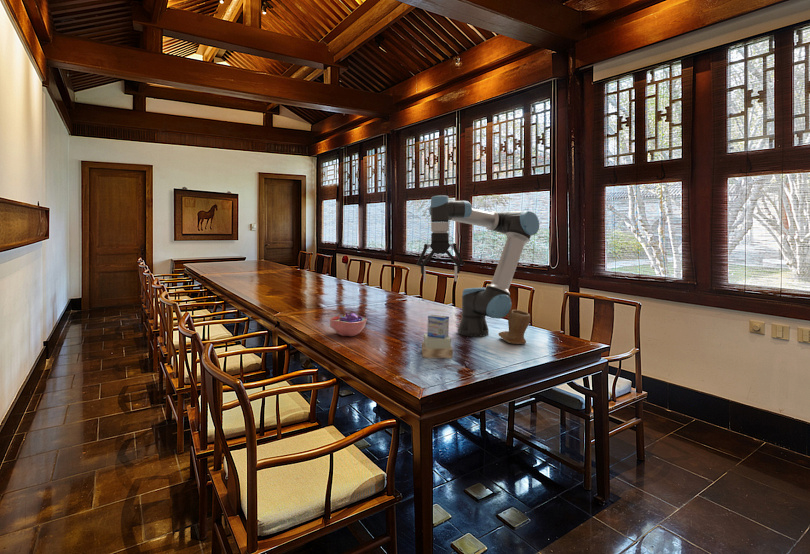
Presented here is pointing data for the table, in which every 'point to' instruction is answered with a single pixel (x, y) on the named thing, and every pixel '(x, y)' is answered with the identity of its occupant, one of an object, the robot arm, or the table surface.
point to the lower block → (436, 352)
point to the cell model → (348, 324)
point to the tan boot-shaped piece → (516, 327)
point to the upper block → (437, 342)
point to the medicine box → (438, 326)
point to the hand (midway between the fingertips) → (440, 281)
